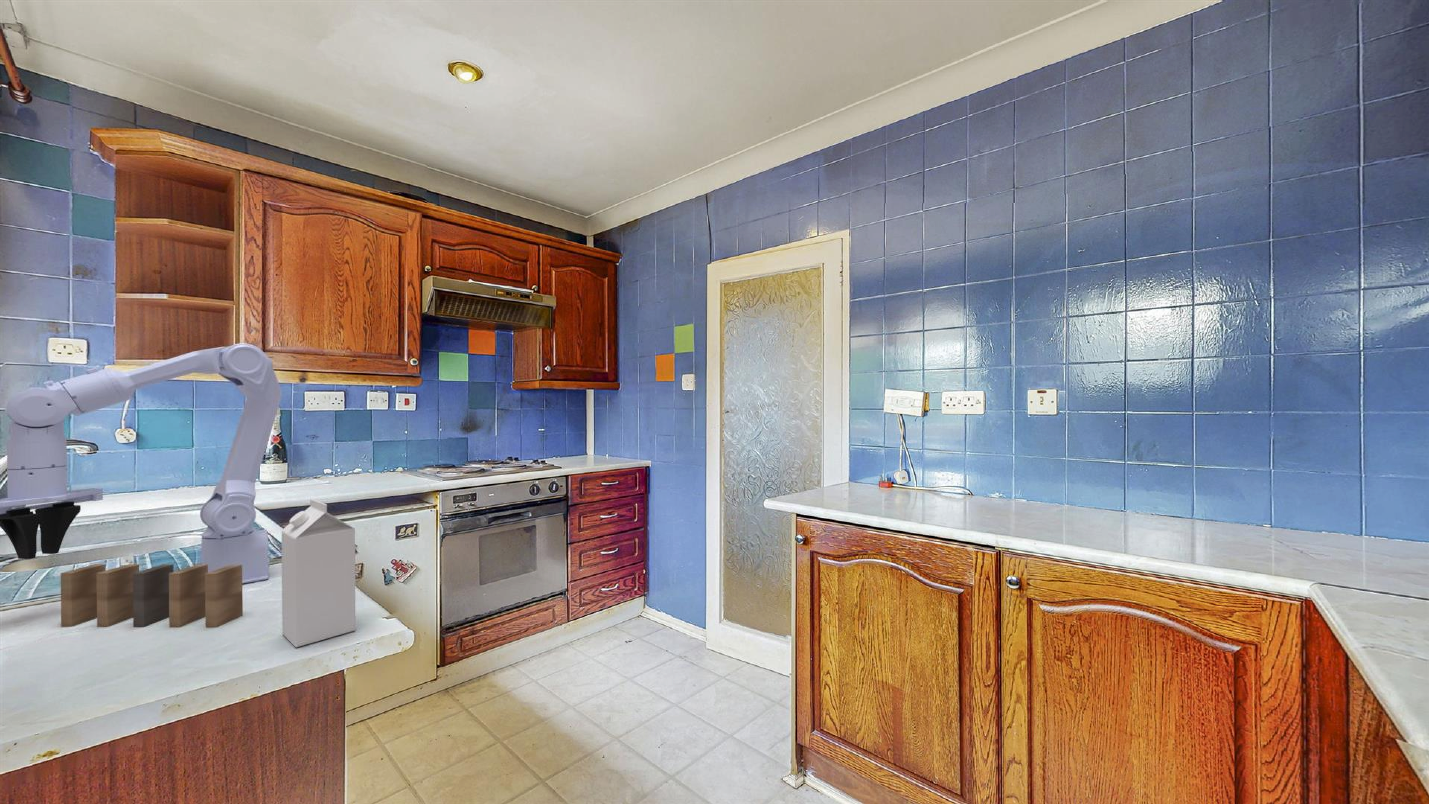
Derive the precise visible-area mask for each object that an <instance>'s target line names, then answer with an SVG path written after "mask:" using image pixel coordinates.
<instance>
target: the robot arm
mask: <svg viewBox="0 0 1429 804" xmlns="http://www.w3.org/2000/svg"><path fill="white" fill-rule="evenodd" d="M85 372H86V373H85V374H82V375H77V376H75V377H71V378H67V379H63V380H60V381H56V382H54V380H49V381H45V382H43V385H44V387H45V388H44V387H31V388H28V389H26V390H23V391H21V392H18V393H16V394H14V395H13V396H12V397H11V398H9V400H8V402H7V404H6V407H5V408H4V410H5V413H6V416H7V417H8V418H9V419H10V420H11V421H10V422H9V425H8V427H7V433H8V435H9V437H8V438H7V439H6V460H7V462H6V465H7V466H6V469H7V470H6V473H7V475H6V476H7V478H6V479H7V481H6V482H7V497H5V498H0V528H1V529H2V530H3V531H4V533H5V534H6V535H7V537H8V539H9V540H10V543H11V544H12V546H13V548H14V551H15V553H16V556H17V558H18V559H19V560H31V559H36V557H37V551H38V550H37V549H38V548H37V547H38V546H37V545H38V544H37V543H38V541H37V538H38V537H37V535H38V531H40V550H41V553H42V554H43V555H44V554H45V555H55V554H59V552H60V549H61V545H62V544H63V541H64V537H65V535H66V533H67V531H68V530H69V528H70V526H71V524H72V523H73V521H74V519H76V517H77V516H78V515H79V514H80V512H81V510H82V509H81V505H80V504H79V503H84V502H96V501H102V500H104V498H103V497H104V495H103V494H104V493H103V491H104V490H103V488H101V487H99V488H98V487H97V488H95V487H91V488H85V489H84V488H82V489H75V490H68V466H67V465H68V461H67V460H68V459H67V458H68V456H67V455H68V454H67V453H68V452H67V449H68V448H67V446H68V445H67V436H66V435H65V434H64V433H65V431H64V429H65V428H64V426H65V422H64V421H63V420H65V419H66V417H67V416H68V415H74V416H82V414H83V415H85V414H88V413H91V412H95V411H98V410H101V409H104V408H107V407H108V408H109V407H111V406H114V405H117V404H119V403H120V404H121V403H124V402H126V401H130V400H131V398H132V396H133V395H134V393H135V391H136V390H137V389H140V388H144V387H147V386H150V385H155V384H158V383H161V382H166V381H169V380H172V379H175V378H180V377H183V376H187V375H190V374H201V375H214V374H218V375H220V376H221V377H222V378H224V379H225V380H227V381H229V382H231V383H233V384H234V385H235V386H236V387H237V389H239V391H240V392H241V393H242V394H243V395H244V396H245V397H246V401H245V403H244V406H243V411H242V413H241V416H240V419H239V423H238V426H237V428H236V431H235V434H234V435H235V436H234V437H233V438H234V439H233V441H232V443H231V447H230V450H229V452H228V453H229V454H228V457H227V460H226V462H225V467H224V469H223V472H222V475H221V477H220V480H219V481H218V483H217V485H216V486H215V488H214V490H213V492H212V495H211V497H210V498H209V499H208V500H207V501H206V502H205V503H204V504H202V507H201V509H200V511H199V517H200V520H201V522H202V523H203V524H204V525H205V526H207V527H206V529H205V530H204V531H203V532H202V533H201V564H202V565H208V573H209V572H212V571H214V570H217V569H220V568H223V567H226V566H229V565H242V585H243V584H247V583H253V582H258V581H265V580H268V579H269V578H270V576H269V568H270V567H271V566H270V564H271V563H270V558H269V536H268V530H267V529H255V528H254V526H252V525H253V524H254V523H255V521H256V518H257V511H256V508H255V500H256V496H257V495H256V492H257V491H256V481H257V478H258V475H259V472H260V469H261V465H262V462H263V459H264V455H265V452H266V449H267V445H268V442H269V439H270V437H271V433H272V429H273V427H274V423H275V419H276V416H277V414H278V410H279V406H280V403H281V400H282V397H283V391H282V388H281V386H280V383H279V380H278V378H277V375H276V373H275V370H274V364H273V360H272V359H271V358H270V357H269V356H268V355H267V354H266V353H265V352H264V351H263V350H262V349H260V348H259V347H258V346H255V345H254V344H250V343H244V342H243V343H235V344H233V345H228V346H220V347H214V348H213V347H212V348H207V349H200V350H196V351H195V350H194V351H191V352H188V353H184V354H181V355H178V356H175V357H171V358H168V359H164V360H161V361H159V362H155V363H152V364H148V365H145V366H142V367H139V368H135V369H132V370H128V371H121V370H117V369H113V368H111V367H109V368H108V367H107V368H103V369H100V370H99V368H98V367H92V368H89V369H86V370H85ZM31 510H34V511H31Z"/></svg>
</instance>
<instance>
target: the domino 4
mask: <svg viewBox="0 0 1429 804" xmlns="http://www.w3.org/2000/svg"><path fill="white" fill-rule="evenodd" d="M243 603H244V602H243V584H242V565H229V566H226V567H223V568H220V569H217V570H214V571H212V572H209V573H206V574H205V617H204V618H205V628H215V629H216V628H218V627H220V626H223V625H225V624H227V623H229V622H231V621H234V620H236V619H238V618H240V617H242V616H244V615H243V611H244V610H243V605H244V604H243Z"/></svg>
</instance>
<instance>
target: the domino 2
mask: <svg viewBox="0 0 1429 804" xmlns="http://www.w3.org/2000/svg"><path fill="white" fill-rule="evenodd" d="M139 571H140V564H137V563H134V564H133V563H130V564H126V565H121V566H117V567H115V568H111V569H108V570H105V571H103V572H100V573H97V618H96V627H97V628H103V627H104V628H108V627H111V626H115V625H116V624H120V623H122V622H124V621H127V620H130V619H133V573H136V572H139Z"/></svg>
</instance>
